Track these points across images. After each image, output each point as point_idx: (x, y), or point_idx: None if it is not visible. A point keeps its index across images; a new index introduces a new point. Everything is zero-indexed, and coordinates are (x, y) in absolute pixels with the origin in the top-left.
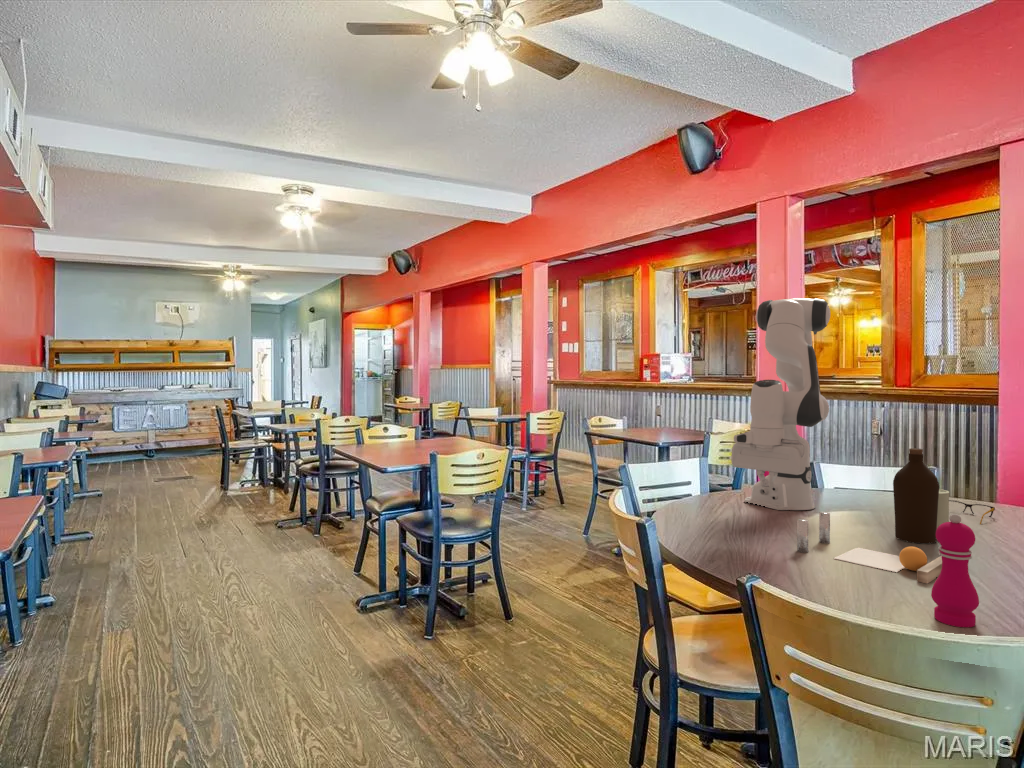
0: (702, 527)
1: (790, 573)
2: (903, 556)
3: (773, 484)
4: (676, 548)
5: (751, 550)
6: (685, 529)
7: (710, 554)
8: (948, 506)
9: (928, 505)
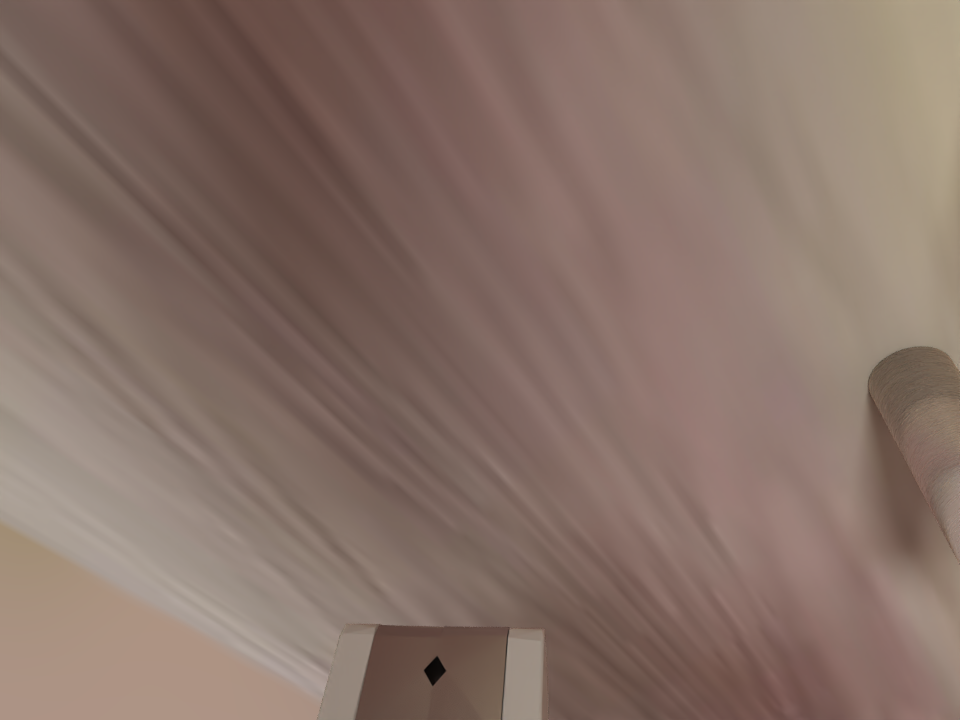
0: (43, 356)
1: (947, 692)
2: None
3: (544, 667)
4: None
5: (628, 552)
6: (62, 466)
7: None
8: None
9: None
